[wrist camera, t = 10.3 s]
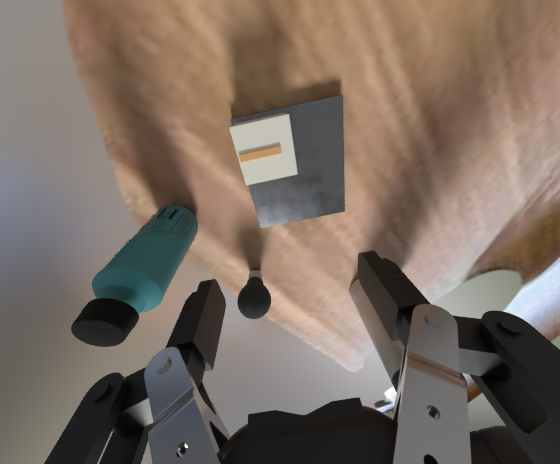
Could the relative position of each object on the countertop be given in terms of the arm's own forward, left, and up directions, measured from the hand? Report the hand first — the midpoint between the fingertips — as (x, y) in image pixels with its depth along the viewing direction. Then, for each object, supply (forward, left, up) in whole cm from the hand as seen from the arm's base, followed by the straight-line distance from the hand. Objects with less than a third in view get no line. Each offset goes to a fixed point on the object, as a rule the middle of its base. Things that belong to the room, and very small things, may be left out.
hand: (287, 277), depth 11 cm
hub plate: (-3, -2, -22) cm, 22 cm away
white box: (+3, -3, -21) cm, 21 cm away
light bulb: (-6, +19, -22) cm, 30 cm away
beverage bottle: (+10, +13, -22) cm, 28 cm away
